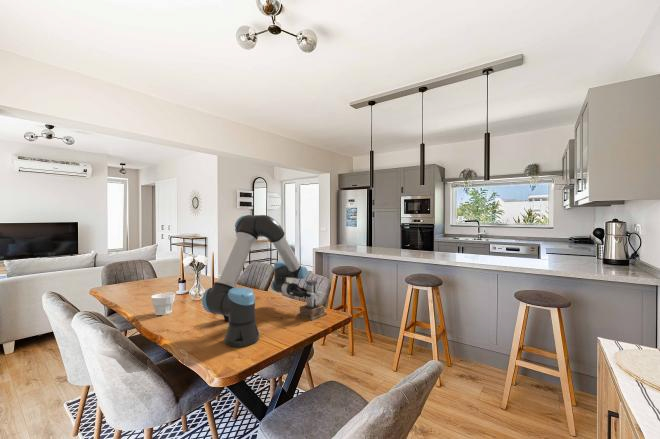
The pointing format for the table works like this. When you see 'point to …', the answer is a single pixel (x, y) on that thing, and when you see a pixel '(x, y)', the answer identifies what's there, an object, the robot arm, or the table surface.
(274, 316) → the table surface
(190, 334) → the table surface
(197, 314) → the table surface
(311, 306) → the steel tongs
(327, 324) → the table surface
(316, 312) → the box
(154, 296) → the cup
